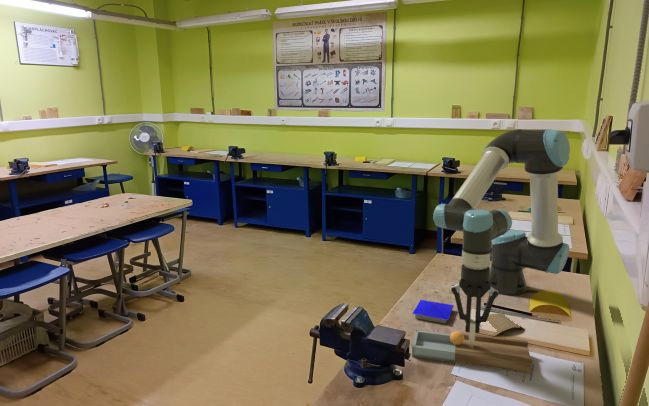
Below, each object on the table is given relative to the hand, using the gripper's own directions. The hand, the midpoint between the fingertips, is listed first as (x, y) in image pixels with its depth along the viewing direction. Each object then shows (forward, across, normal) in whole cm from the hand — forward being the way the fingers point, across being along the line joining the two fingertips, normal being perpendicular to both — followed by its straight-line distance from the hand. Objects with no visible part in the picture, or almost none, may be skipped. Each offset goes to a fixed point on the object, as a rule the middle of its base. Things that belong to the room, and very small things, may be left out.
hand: (471, 341), depth 128 cm
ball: (-1, -4, 0) cm, 4 cm away
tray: (+4, -10, 0) cm, 11 cm away
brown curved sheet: (+5, +10, +21) cm, 24 cm away
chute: (+4, +6, 0) cm, 7 cm away
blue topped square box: (+5, -12, +24) cm, 27 cm away
